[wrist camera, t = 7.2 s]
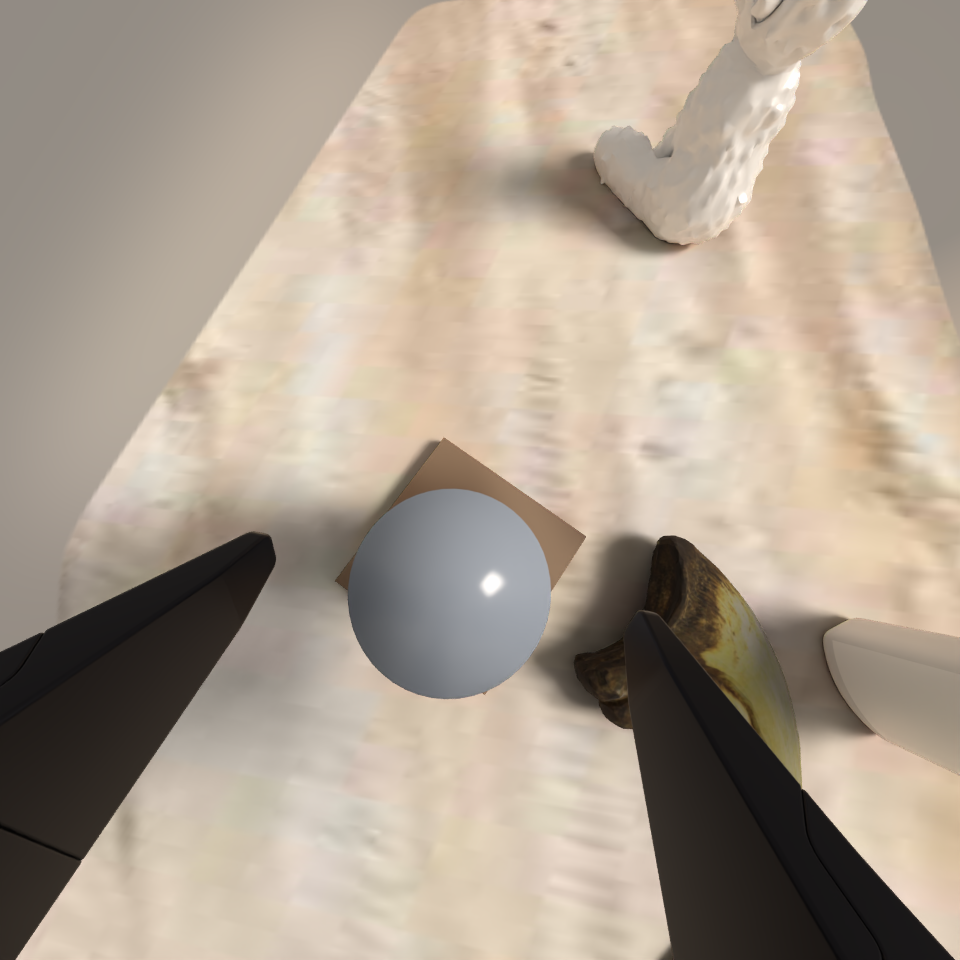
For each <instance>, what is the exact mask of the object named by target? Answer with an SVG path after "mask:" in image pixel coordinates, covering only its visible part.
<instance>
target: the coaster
mask: <svg viewBox="0 0 960 960" xmlns="http://www.w3.org/2000/svg"><path fill="white" fill-rule="evenodd" d="M440 489H462V490H469V491H474V492H478V493H481V494H484V495H487V496H489V497H492V498H494V499H495V500H497V501H499V502H501V503H503V504H504V505H506V506H507V507H509V508H510V509H511V510H513V511H514V512H515V513H516V514H517V515H518V516H519V517H520V518H521V519H523V521H524V522H525V523H526V524H527V525H528V527H529V528H530V529H531V530H532V532H533V534H534V535H535V537H536V538H537V540H538V542H539V544H540V546H541V548H542V550H543V552H544V555H545V559H546V562H547V565H548V570H549V575H550V584H551V591H552V589H553V588H554V586H555V585H556V583H557V582H558V580H559V579H560V577H561V575H562V574H563V572H564V571H565V569H566V568H567V566H568V564H569V563H570V561H571V560H572V558H573V557H574V555H575V554H576V552H577V550H578V549H579V547H580V546H581V544H582V543H583V541H584V539H585V538H586V536H585V535H583V534H582V533H580V532H579V531H578V530H576V529H575V528H573V527H572V526H570V525H569V524H568V523H566V522H565V521H563V520H562V519H560V518H559V517H557V516H556V515H555V514H553V513H552V512H550V511H549V510H547V509H546V508H545V507H543V506H542V505H540V504H539V503H537V502H536V501H535V500H533V499H532V498H530V497H529V496H527V495H526V494H524V493H523V492H522V491H520V490H519V489H517V488H516V487H514V486H513V485H512V484H510V483H509V482H507V481H506V480H504V479H503V478H501V477H500V476H499V475H497V474H496V473H494V472H493V471H491V470H490V469H489V468H487V467H486V466H484V465H483V464H481V463H480V462H479V461H477V460H476V459H474V458H473V457H471V456H470V455H468V454H467V453H466V452H464V451H463V450H461V449H460V448H458V447H457V446H456V445H454V444H453V443H451V442H450V441H448V440H447V439H446V438H443V439H442V441H441V442H440V443H439V445H438V446H437V447H436V449H435V450H434V451H433V453H432V454H431V455H430V456H429V458H428V459H427V460H426V462H425V463H424V464H423V466H422V467H421V468H420V470H419V471H418V472H417V474H416V475H415V476H414V477H413V479H412V480H411V481H410V483H409V484H408V485H407V487H406V488H405V489H404V491H403V492H402V493H401V495H400V496H399V497H398V499H397V500H396V501H395V502H394V504H393V505H392V506H391V508H390V509H389V510H391V509H392V508H393V507H394V506H396V505H398V504H399V503H401V502H403V501H404V500H406V499H409V498H411V497H413V496H415V495H418V494H421V493H425V492H428V491H433V490H440ZM389 510H388V511H389ZM356 554H357V552H356ZM356 554H355V555H354V556H353V558H352V559H351V560H350V562H349V563H348V564H347V566H346V567H345V568H344V570H343V571H342V572H341V574H340V575H339V576H338V577H337V579H336V580H335V581H336V582H337V583H339V584H340V585H341V586H342V587H344V588H345V589H346V590H348V585H349V578H350V572H351V568H352V565H353V561H354V558H355V556H356ZM486 692H487V691H486ZM486 692H483V694H484V695H485V694H486Z"/></svg>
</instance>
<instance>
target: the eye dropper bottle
mask: <svg viewBox="0 0 960 960" xmlns="http://www.w3.org/2000/svg"><path fill="white" fill-rule="evenodd" d="M823 646H824V651H825V656H826V660H827V663H828V667H829V670H830V673H831V675H832V677H833V680H834V682H835V684H836V686H837V688H838V690H839V692H840V693H841V695H842V697H843V698H844V700H845V701H846V702H847V704H848V705H849V707H850V708H851V709H852V710H853V712H854V713H855V714H856V715H857V716H858V717H859V718H860V719H861V720H862V722H863V723H864V724H865V725H867V726H868V727H869V728H870V729H871V730H872V731H873V732H875V733H876V734H877V735H878V736H880V737H881V738H883V739H884V740H886V741H888V742H890V743H892V744H895V745H897V746H899V747H901V748H903V749H905V750H907V751H909V752H911V753H913V754H916V755H918V756H920V757H922V758H924V759H926V760H928V761H930V762H932V763H934V764H937V765H939V766H941V767H943V768H945V769H947V770H949V771H951V772H953V773H955V774H958V775H960V637H955V636H950V635H945V634H940V633H934V632H929V631H924V630H919V629H914V628H909V627H904V626H898V625H893V624H888V623H883V622H878V621H872V620H867V619H862V618H853V619H849V620H847V621H845V622H843V623H841V624H839V625H837V626H835V627H833V628H832V629H830V630H828V631H827V632H826V633H825V634H824V638H823Z"/></svg>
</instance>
